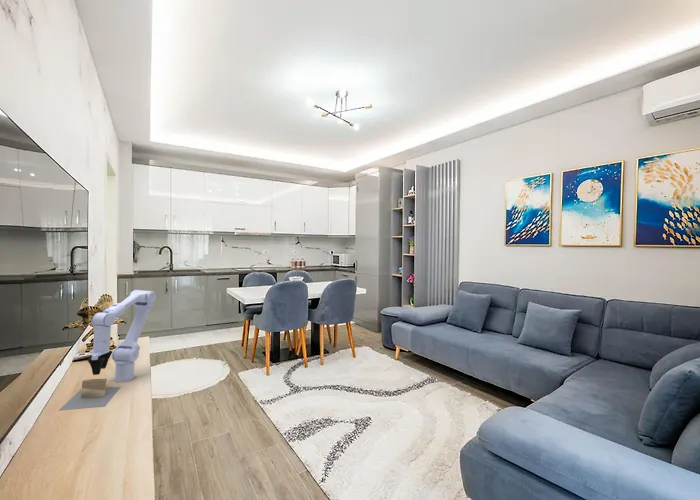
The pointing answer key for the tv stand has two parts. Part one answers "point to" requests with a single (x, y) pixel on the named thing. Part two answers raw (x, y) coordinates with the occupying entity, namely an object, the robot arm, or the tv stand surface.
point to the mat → (90, 400)
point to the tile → (93, 388)
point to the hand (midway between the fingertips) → (99, 371)
